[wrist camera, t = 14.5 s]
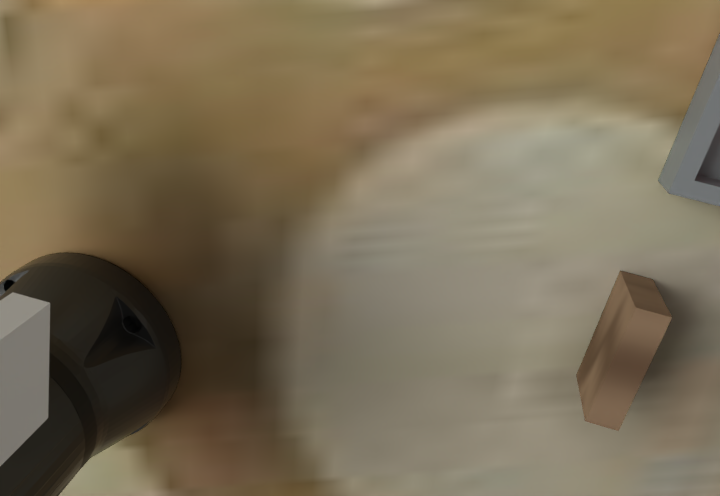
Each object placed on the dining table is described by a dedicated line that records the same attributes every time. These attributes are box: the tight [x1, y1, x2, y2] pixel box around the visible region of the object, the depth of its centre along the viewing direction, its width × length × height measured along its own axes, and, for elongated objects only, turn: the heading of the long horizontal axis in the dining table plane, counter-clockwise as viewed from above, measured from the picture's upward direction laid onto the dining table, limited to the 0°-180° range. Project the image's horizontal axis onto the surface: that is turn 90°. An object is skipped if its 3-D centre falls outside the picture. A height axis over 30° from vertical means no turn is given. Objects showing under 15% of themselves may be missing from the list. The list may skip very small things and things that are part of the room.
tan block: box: [576, 271, 672, 431], centre depth 39 cm, size 8×14×5 cm, turn 78°
